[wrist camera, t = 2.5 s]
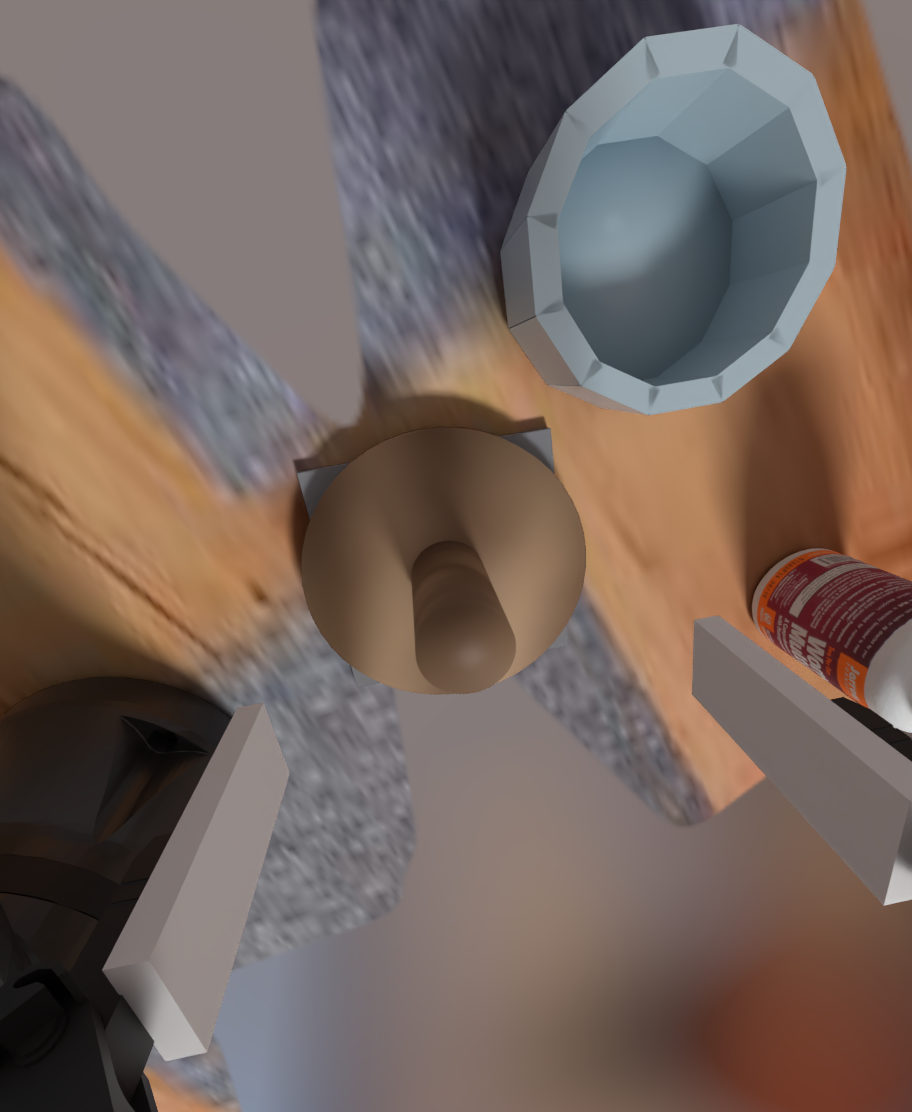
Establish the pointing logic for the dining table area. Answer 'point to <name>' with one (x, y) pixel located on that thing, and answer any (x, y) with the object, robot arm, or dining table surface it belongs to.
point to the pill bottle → (843, 626)
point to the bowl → (676, 224)
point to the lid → (443, 561)
